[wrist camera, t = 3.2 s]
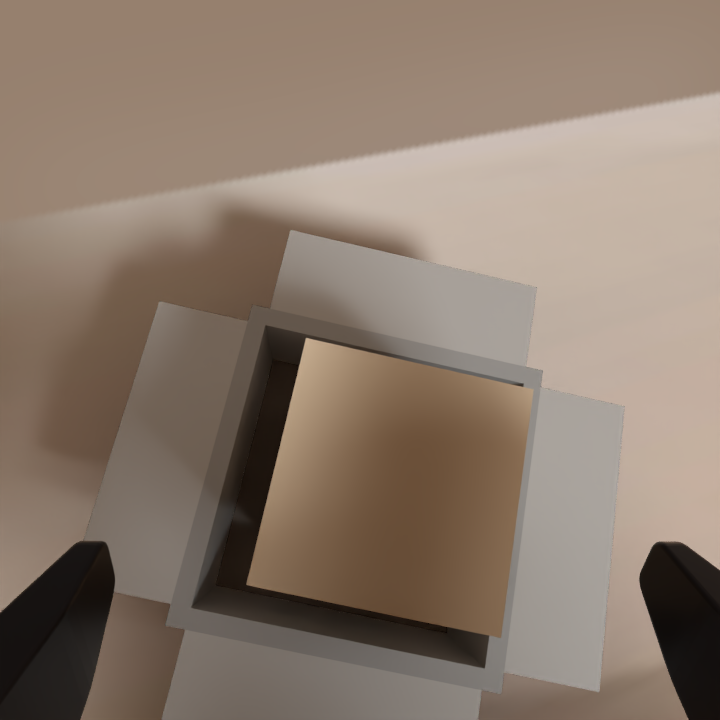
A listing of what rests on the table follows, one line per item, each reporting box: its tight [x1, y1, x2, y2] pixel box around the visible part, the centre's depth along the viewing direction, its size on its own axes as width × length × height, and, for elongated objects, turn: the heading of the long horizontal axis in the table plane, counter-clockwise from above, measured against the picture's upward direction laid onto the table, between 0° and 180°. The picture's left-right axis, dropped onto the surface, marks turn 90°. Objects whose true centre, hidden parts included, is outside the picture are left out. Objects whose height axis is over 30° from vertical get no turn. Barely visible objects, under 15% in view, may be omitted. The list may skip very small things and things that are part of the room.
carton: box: [83, 230, 625, 720], centre depth 17 cm, size 14×14×4 cm
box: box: [246, 338, 534, 638], centre depth 15 cm, size 4×4×9 cm
